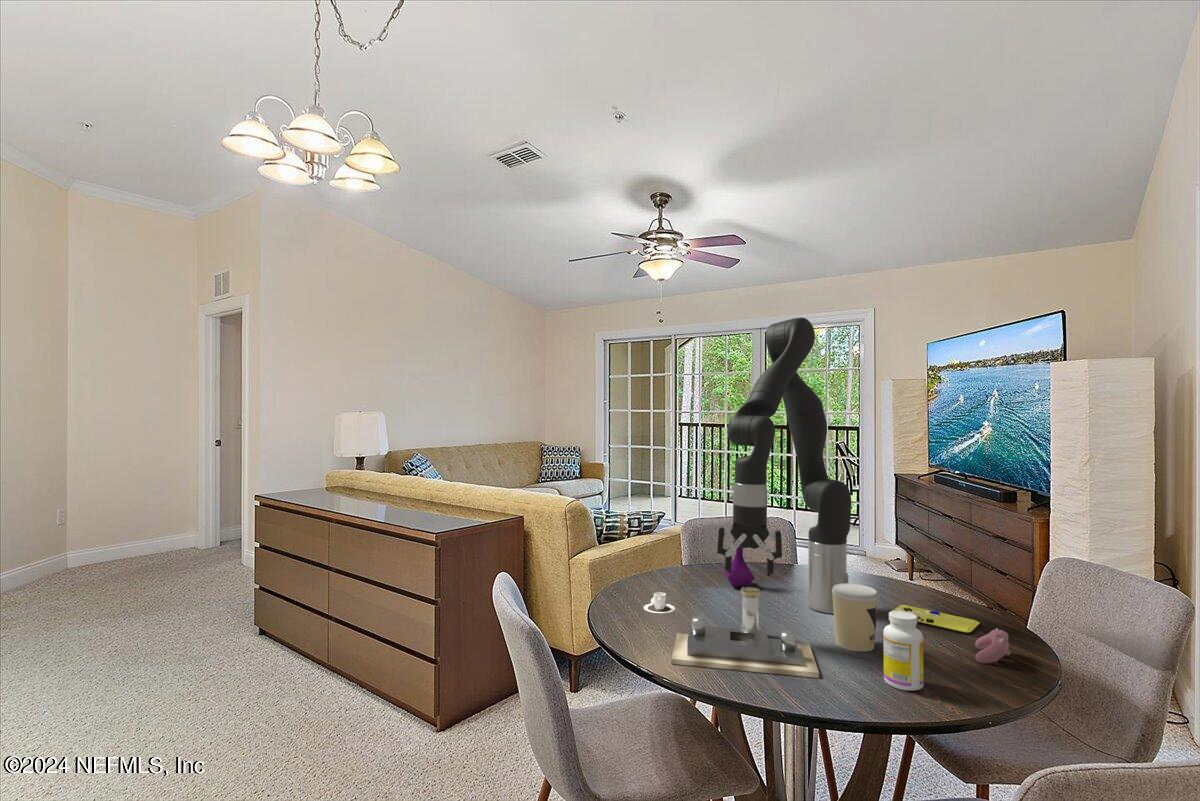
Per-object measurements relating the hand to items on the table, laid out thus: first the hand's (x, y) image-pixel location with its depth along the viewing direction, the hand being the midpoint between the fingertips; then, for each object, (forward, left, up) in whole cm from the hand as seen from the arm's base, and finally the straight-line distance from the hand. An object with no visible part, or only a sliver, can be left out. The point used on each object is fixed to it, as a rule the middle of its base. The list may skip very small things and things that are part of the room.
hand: (748, 574), depth 136 cm
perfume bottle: (+2, -38, -14) cm, 40 cm away
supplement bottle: (-27, +19, -14) cm, 36 cm away
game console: (-44, -20, -14) cm, 51 cm away
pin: (0, 0, -14) cm, 14 cm away
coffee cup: (-22, +1, -14) cm, 26 cm away
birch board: (+2, +13, -14) cm, 19 cm away
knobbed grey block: (+2, +13, -14) cm, 19 cm away
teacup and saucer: (+19, -15, -14) cm, 28 cm away
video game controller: (-49, +2, -14) cm, 51 cm away
